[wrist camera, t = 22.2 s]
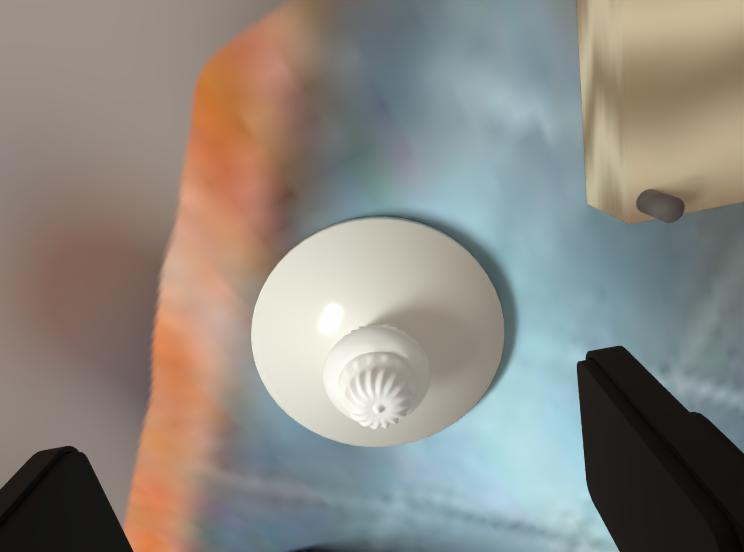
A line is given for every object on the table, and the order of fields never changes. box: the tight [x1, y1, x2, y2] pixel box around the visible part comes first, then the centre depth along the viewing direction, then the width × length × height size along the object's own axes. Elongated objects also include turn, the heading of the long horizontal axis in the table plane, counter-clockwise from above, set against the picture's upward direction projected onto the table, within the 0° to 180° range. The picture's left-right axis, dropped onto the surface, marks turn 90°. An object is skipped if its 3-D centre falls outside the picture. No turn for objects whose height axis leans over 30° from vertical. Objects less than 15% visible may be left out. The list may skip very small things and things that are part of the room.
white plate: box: [251, 216, 505, 447], centre depth 32 cm, size 16×16×1 cm
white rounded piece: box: [323, 323, 431, 429], centre depth 29 cm, size 6×6×7 cm
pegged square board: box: [577, 0, 744, 224], centre depth 24 cm, size 12×12×7 cm
